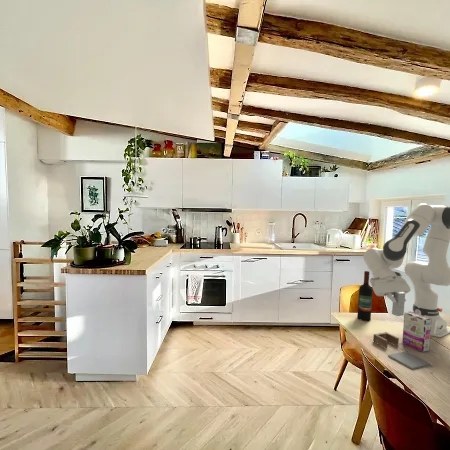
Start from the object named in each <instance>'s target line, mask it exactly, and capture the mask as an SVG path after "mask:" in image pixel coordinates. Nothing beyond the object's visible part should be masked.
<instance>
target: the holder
mask: <svg viewBox="0 0 450 450" xmlns="http://www.w3.org/2000/svg"><path fill="white" fill-rule="evenodd" d="M399 340H400V338H399V337H397V336H395V335H394V334H391V333H390V332H387V331H384V332H379V333H374V334H373V339H372V342H373V341H374V342H373V343H375V342H376V343H378V344H379V346H380V345H381V346H380V347H382V346H383V347H382V348H384V347H385V348H384V349H388V343H389V342H390V343H389V344H391V343H392V345H393V344H394V346H395V347H398V346H399V342H400V341H399ZM376 343H375V344H376ZM378 344H377V345H378Z"/></svg>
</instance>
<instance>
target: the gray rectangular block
mask: <svg viewBox="0 0 450 450" xmlns="http://www.w3.org/2000/svg"><path fill="white" fill-rule="evenodd" d="M392 296H393V297H394V298H396V299H397V301H398V302H397V303H393V302H392V309H391V315H394V316H396V317H401V316H403V317H404V313H405V302H406V301H405V299H406V294H405V293H404V292H401V291H396V292H394V294H393V295H392Z"/></svg>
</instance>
